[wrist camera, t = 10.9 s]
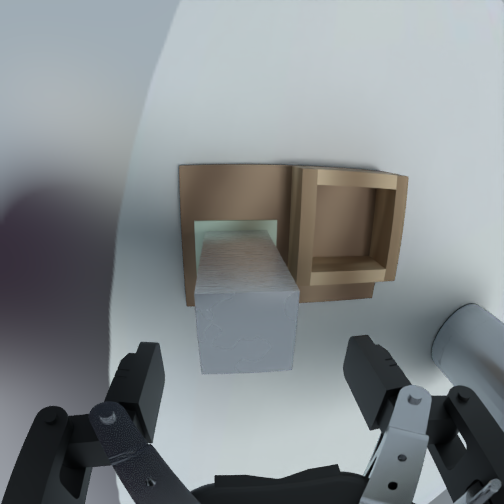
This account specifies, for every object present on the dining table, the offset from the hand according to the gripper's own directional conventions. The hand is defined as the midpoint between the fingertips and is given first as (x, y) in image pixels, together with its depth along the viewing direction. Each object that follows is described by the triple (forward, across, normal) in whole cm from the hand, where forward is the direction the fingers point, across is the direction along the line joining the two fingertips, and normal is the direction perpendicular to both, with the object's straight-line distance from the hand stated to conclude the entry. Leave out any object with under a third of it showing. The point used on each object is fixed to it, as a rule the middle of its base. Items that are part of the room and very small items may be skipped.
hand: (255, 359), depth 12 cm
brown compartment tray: (+13, -4, -2) cm, 13 cm away
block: (+12, 0, 0) cm, 12 cm away
